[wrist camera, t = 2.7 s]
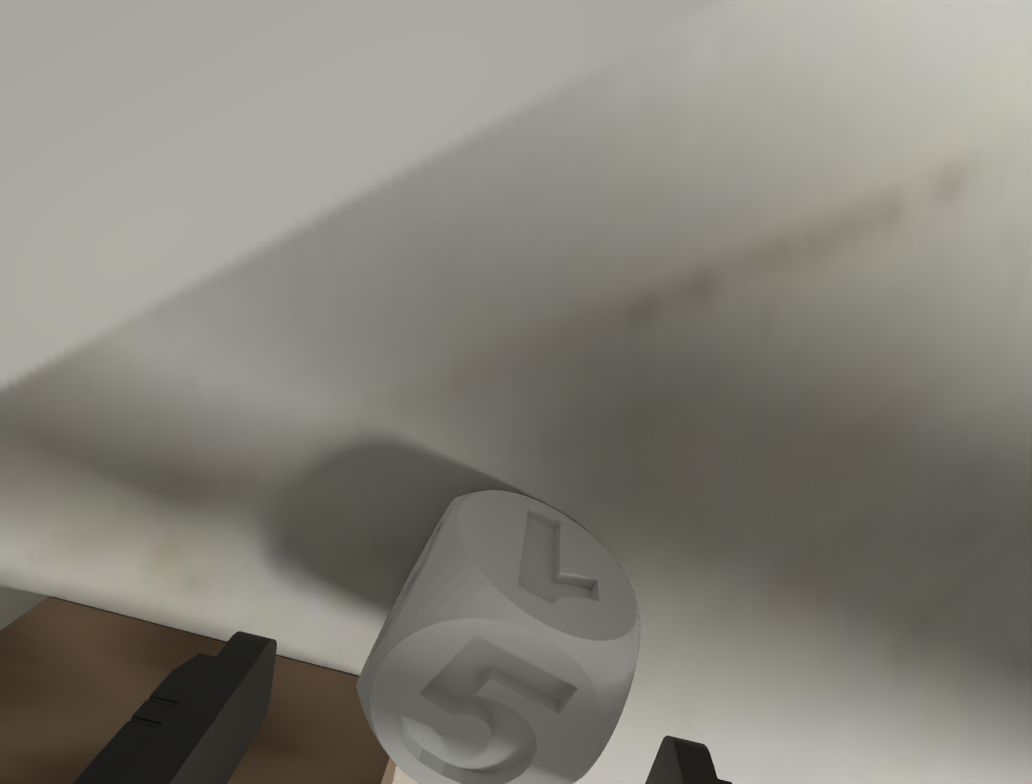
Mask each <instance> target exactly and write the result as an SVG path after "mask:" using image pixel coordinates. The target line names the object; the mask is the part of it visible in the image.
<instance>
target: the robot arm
mask: <svg viewBox="0 0 1032 784" xmlns="http://www.w3.org/2000/svg"><path fill="white" fill-rule="evenodd" d="M276 649H277V642H276V640H274V639H270V638H266V637H261V636H257V635H253V634H249V633H245V632H240V631H239V632H237V633H235V634H234V635H233V636H232V637H231V638H230V640H229V641H228V642H227V643H226V645H225V646H224V647H223V648H222V650H221V651H220V652H219V653H218V655H217V656H216V657H214V656H210V655H206V654H202V653H199V654H198V655H196V656H195V657H193V658H191V659H190V660H188V661H187V662H185V663H184V664H182V665H180V666H179V667H177V668H176V669H174V670H172V671H171V672H170V673H169V675H168V676H167V677H166V678H165V679H164V680H163V681H162V682H161V684H160V685H159V686H158V687H157V688H156V689H155V690H154V692H153V693H152V694H151V695H150V698H149V699H148V700H146V701H145V702H144V703H143V704H142V705H141V706H140V707H139V709H138V710H137V711H136V712H135V713H134V714H133V715H132V718H131V720H130V721H127V722H126V723H125V724H124V726H123V727H122V728H121V729H120V730H119V731H118V732H117V733H116V735H115V736H114V737H113V738H112V739H111V740H110V741H109V743H108V744H107V745H106V746H105V747H104V748H103V749H102V750H101V752H100V753H99V754H98V755H97V756H96V757H95V758H94V760H93V761H92V762H91V763H90V764H89V765H88V766H87V768H86V769H85V770H84V771H83V772H82V773H81V774H80V775H79V777H78V778H77V779H76V780H75V781H74V782H73V783H72V784H227V783H228V781H229V779H230V778H231V776H232V774H233V773H234V771H235V769H236V768H237V766H238V764H239V763H240V761H241V759H242V758H243V756H244V754H245V753H246V751H247V749H248V748H249V746H250V744H251V743H252V741H253V739H254V738H255V736H256V734H257V732H258V730H259V729H260V727H261V724H262V722H263V720H264V717H265V715H266V712H267V709H268V706H269V702H270V697H271V690H272V681H273V673H274V665H275V657H276ZM645 784H732V783H731V782H728V781H724V780H720V779H718V778H717V775H716V772H715V769H714V765H713V762H712V759H711V755H710V753H709V750H708V748H707V747H706V746H705V745H704V744H701V743H697V742H693V741H688V740H684V739H680V738H676V737H672V736H666V737H664V739H663V741H662V743H661V745H660V748H659V750H658V753H657V755H656V758H655V761H654V763H653V766H652V768H651V771H650V773H649V776H648V778H647V781H646V783H645Z"/></svg>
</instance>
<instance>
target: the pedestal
mask: <svg viewBox="0 0 1032 784" xmlns="http://www.w3.org/2000/svg"><path fill="white" fill-rule="evenodd" d="M225 645H226V642H222V641H218V640H214V639H210V638H206V637H202V636H198V635H195V634H191V633H187V632H183V631H179V630H175V629H171V628H168V627H164V626H160V625H156V624H152V623H148V622H144V621H140V620H137V619H133V618H129V617H125V616H121V615H117V614H113V613H110V612H106V611H102V610H98V609H94V608H90V607H86V606H82V605H79V604H75V603H71V602H67V601H63V600H59V599H55V598H52V597H49V598H47V599H46V600H44V601H43V602H41V603H40V604H39V605H37V606H36V607H34V608H33V609H31V610H30V611H29V612H27V613H26V614H24V615H23V616H21V617H20V618H18V619H17V620H16V621H14V622H13V623H11V624H10V625H8V626H7V627H5V628H4V629H3V630H1V631H0V784H72V783H73V782H74V781H75V780H76V779H77V778H78V777H79V775H80V774H81V773H82V772H83V771H84V770H85V769H86V768H87V766H88V765H89V764H90V763H91V762H92V761H93V760H94V758H95V757H96V756H97V755H98V754H99V753H100V752H101V750H102V749H103V748H104V747H105V746H106V745H107V744H108V743H109V741H110V740H111V739H112V738H113V737H114V736H115V735H116V733H117V732H118V731H119V730H120V729H121V728H122V727H123V726H124V724H125V723H126V722H127V721H130V720H131V718H132V715H133V714H134V713H135V712H136V711H137V710H138V709H139V707H140V706H141V705H142V704H143V703H144V702H145V701H146V700H148V699H149V698H150V695H151V694H152V693H153V692H154V690H155V689H156V688H157V687H158V686H159V685H160V684H161V682H162V681H163V680H164V679H165V678H166V677H167V676H168V675H169V673H170V672H171V671H172V670H174V669H176V668H177V667H179V666H180V665H182V664H184V663H185V662H187V661H188V660H190V659H191V658H193V657H195V656H196V655H198V654H199V653H202V654H206V655H210V656H214V657H216V656H217V655H218V653H219V652H220V651H221V650H222V648H223V647H224V646H225ZM358 679H359V677H357V676H353V675H349V674H345V673H342V672H338V671H334V670H330V669H326V668H322V667H318V666H314V665H311V664H307V663H303V662H299V661H295V660H291V659H287V658H284V657H280V656H276V657H275V665H274V673H273V681H272V690H271V697H270V702H269V706H268V709H267V712H266V715H265V717H264V720H263V722H262V724H261V727H260V729H259V730H258V732H257V734H256V736H255V738H254V739H253V741H252V743H251V744H250V746H249V748H248V749H247V751H246V753H245V754H244V756H243V758H242V759H241V761H240V763H239V764H238V766H237V768H236V769H235V771H234V773H233V774H232V776H231V778H230V779H229V781H228V783H227V784H392V781H393V777H394V772H395V767H396V764H395V762H394V761H393V760H392V759H391V758H390V756H389V755H388V754H387V752H386V751H385V750H384V748H383V747H382V745H381V744H380V743H379V741H378V740H377V738H376V736H375V734H374V733H373V731H372V729H371V727H370V725H369V723H368V721H367V719H366V716H365V713H364V711H363V708H362V705H361V702H360V698H359V695H358V691H357V687H356V685H357V682H358Z"/></svg>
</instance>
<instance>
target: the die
mask: <svg viewBox="0 0 1032 784" xmlns="http://www.w3.org/2000/svg"><path fill="white" fill-rule="evenodd" d="M639 640H640V616H639V609H638V605H637V601H636V598H635V594H634V591H633V589H632V587H631V584H630V582H629V580H628V579H627V577H626V575H625V573H624V572H623V570H622V569H621V567H620V566H619V565H618V563H617V562H616V561H615V559H614V558H613V557H612V556H611V554H610V553H609V552H608V551H607V550H606V549H605V548H604V547H603V546H602V545H601V544H600V543H599V542H598V541H597V540H596V539H595V538H594V537H593V536H592V535H591V534H589V533H588V532H587V531H586V530H585V529H583V528H582V527H581V526H580V525H578V524H577V523H575V522H574V521H573V520H571V519H570V518H568V517H567V516H565V515H564V514H562V513H560V512H559V511H557V510H555V509H553V508H552V507H550V506H548V505H546V504H544V503H542V502H539V501H537V500H535V499H532V498H530V497H527V496H524V495H521V494H517V493H513V492H509V491H502V490H486V491H479V492H473V493H469V494H465V495H462V496H458V497H455V498H454V499H453V500H452V502H451V503H450V505H449V506H448V508H447V509H446V511H445V512H444V514H443V516H442V517H441V519H440V521H439V522H438V524H437V526H436V528H435V529H434V531H433V533H432V535H431V536H430V538H429V540H428V542H427V544H426V545H425V547H424V549H423V551H422V553H421V554H420V556H419V558H418V560H417V562H416V564H415V565H414V567H413V569H412V571H411V573H410V575H409V577H408V579H407V580H406V582H405V584H404V586H403V588H402V590H401V592H400V594H399V596H398V598H397V600H396V602H395V603H394V605H393V607H392V609H391V611H390V613H389V615H388V617H387V619H386V621H385V623H384V625H383V627H382V629H381V631H380V633H379V635H378V637H377V639H376V641H375V643H374V646H373V648H372V650H371V652H370V654H369V656H368V658H367V660H366V663H365V665H364V667H363V669H362V672H361V674H360V676H359V679H358V682H357V685H356V687H357V691H358V695H359V698H360V702H361V705H362V708H363V711H364V713H365V716H366V719H367V721H368V723H369V725H370V727H371V729H372V731H373V733H374V734H375V736H376V738H377V740H378V741H379V743H380V744H381V745H382V747H383V748H384V750H385V751H386V752H387V754H388V755H389V756H390V758H391V759H392V760H393V761H394V762H395V764H396V765H397V766H398V767H399V768H400V769H401V770H402V771H404V772H405V773H406V774H407V775H408V776H409V777H411V778H412V779H413V780H415V781H416V782H418V783H419V784H574V783H575V782H577V781H578V780H579V779H581V778H582V777H583V776H584V775H585V774H586V773H587V772H588V771H589V769H590V768H591V767H592V766H593V764H594V763H595V762H596V761H597V759H598V758H599V756H600V755H601V753H602V751H603V750H604V748H605V747H606V745H607V743H608V741H609V739H610V737H611V735H612V733H613V731H614V729H615V727H616V725H617V723H618V721H619V718H620V716H621V713H622V711H623V708H624V705H625V703H626V700H627V697H628V694H629V691H630V687H631V684H632V680H633V676H634V672H635V667H636V662H637V657H638V650H639Z"/></svg>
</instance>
